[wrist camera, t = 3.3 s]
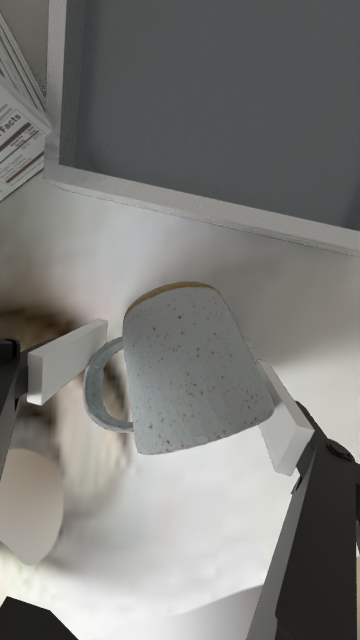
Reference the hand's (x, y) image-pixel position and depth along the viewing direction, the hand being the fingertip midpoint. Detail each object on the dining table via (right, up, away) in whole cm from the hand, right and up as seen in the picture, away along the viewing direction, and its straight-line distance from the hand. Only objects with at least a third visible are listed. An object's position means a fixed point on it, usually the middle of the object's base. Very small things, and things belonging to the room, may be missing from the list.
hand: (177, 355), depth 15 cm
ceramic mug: (0, +1, +2) cm, 2 cm away
